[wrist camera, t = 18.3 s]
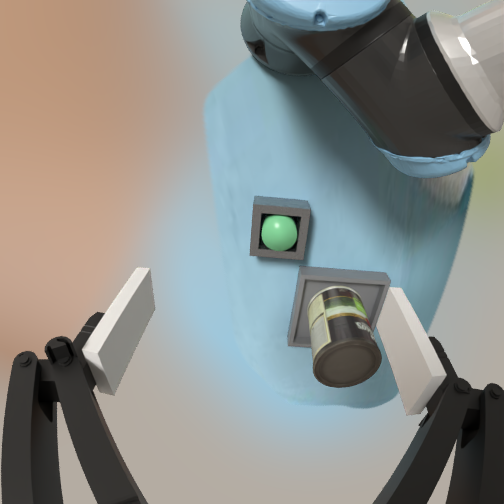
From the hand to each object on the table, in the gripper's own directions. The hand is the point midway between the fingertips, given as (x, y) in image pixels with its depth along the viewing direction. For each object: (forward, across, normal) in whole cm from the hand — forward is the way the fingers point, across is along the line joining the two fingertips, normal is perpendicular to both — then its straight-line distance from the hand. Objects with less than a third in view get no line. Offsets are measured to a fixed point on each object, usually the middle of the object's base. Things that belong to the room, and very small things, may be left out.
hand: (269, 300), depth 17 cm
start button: (+31, +2, -8) cm, 32 cm away
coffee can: (+31, +13, -23) cm, 41 cm away
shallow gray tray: (+32, +14, -23) cm, 41 cm away
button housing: (+32, +2, -8) cm, 33 cm away
